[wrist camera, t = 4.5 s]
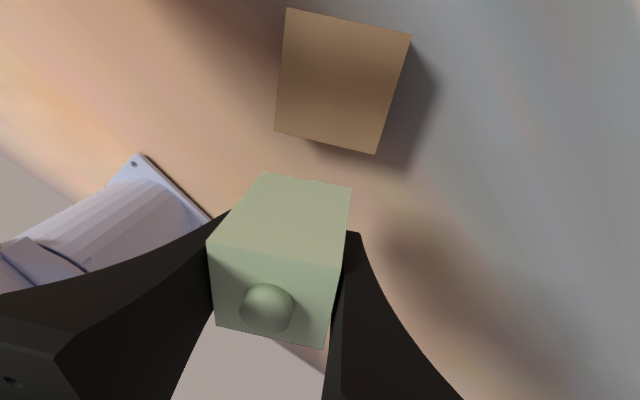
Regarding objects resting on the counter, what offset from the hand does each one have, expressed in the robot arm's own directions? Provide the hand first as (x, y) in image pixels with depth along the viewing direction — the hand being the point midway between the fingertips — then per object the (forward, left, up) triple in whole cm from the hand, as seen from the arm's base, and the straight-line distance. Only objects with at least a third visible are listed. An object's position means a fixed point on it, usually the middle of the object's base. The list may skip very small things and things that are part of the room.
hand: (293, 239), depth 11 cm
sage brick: (0, 0, -2) cm, 2 cm away
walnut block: (+4, +3, -9) cm, 11 cm away
